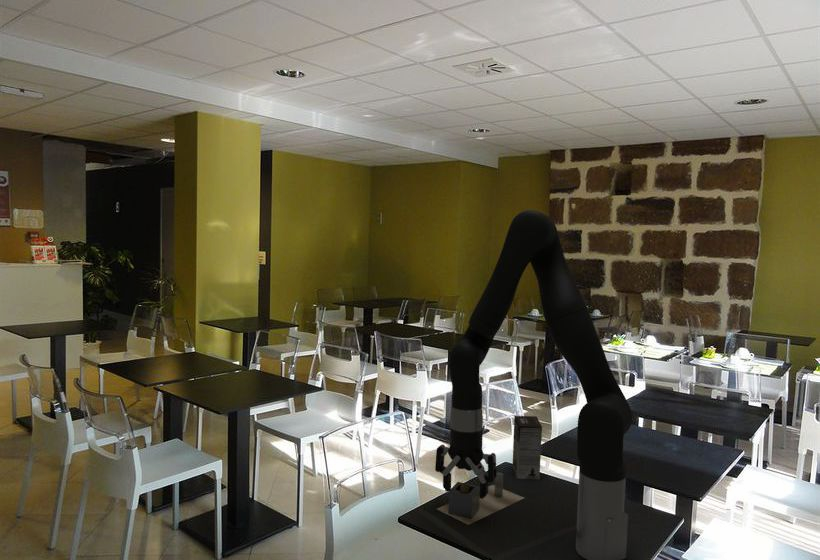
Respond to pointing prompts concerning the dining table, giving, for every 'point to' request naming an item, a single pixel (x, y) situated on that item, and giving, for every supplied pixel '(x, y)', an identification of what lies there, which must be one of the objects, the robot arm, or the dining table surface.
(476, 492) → the collar
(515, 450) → the coffee box
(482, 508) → the board
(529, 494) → the dining table surface
